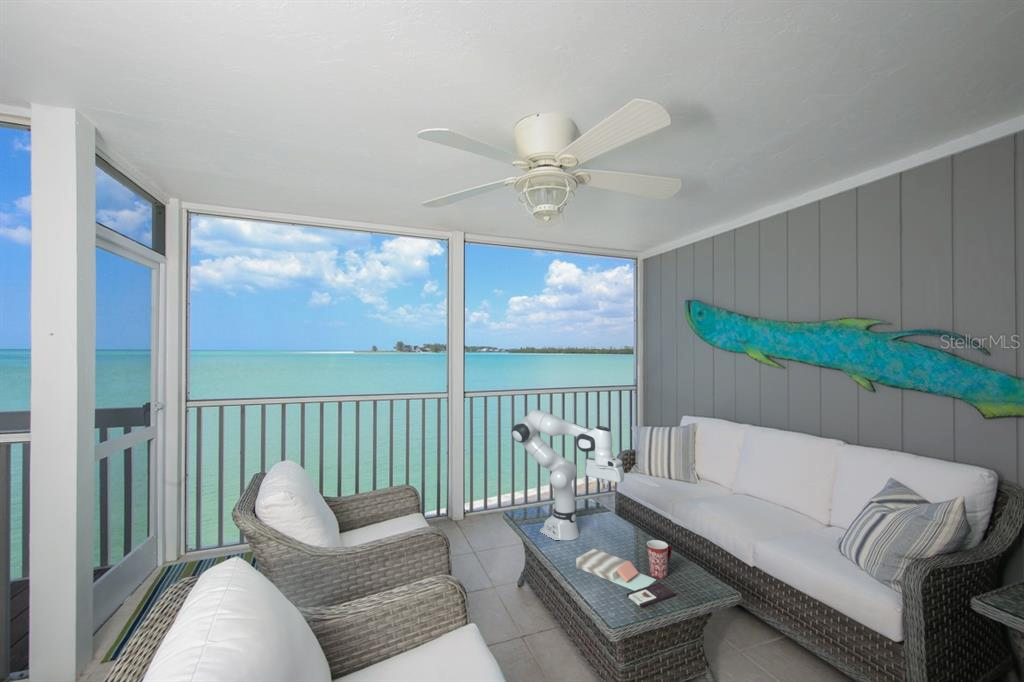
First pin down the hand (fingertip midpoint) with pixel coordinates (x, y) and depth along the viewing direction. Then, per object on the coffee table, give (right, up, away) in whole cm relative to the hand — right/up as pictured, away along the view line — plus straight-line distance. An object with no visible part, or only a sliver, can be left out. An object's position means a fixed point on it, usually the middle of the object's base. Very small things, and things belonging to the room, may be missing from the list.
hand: (604, 488), depth 214 cm
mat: (+8, -33, -22) cm, 41 cm away
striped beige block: (-3, -34, -11) cm, 36 cm away
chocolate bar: (+12, -33, -35) cm, 49 cm away
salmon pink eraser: (+5, -31, -19) cm, 37 cm away
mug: (+22, -33, -17) cm, 43 cm away
